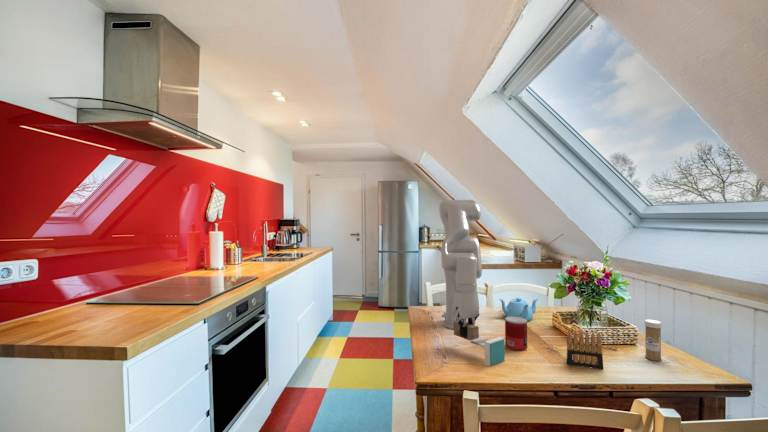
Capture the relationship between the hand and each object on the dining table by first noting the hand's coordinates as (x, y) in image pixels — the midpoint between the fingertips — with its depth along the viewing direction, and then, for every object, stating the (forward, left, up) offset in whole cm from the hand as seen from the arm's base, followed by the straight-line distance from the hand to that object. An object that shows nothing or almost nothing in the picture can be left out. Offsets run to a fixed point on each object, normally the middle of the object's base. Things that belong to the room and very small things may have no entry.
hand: (466, 335), depth 127 cm
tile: (+13, 0, -6) cm, 14 cm away
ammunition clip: (+32, +23, -6) cm, 40 cm away
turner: (+3, 0, -1) cm, 3 cm away
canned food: (+9, +18, -6) cm, 21 cm away
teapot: (-12, +51, -6) cm, 53 cm away
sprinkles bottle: (+43, +49, -6) cm, 65 cm away
